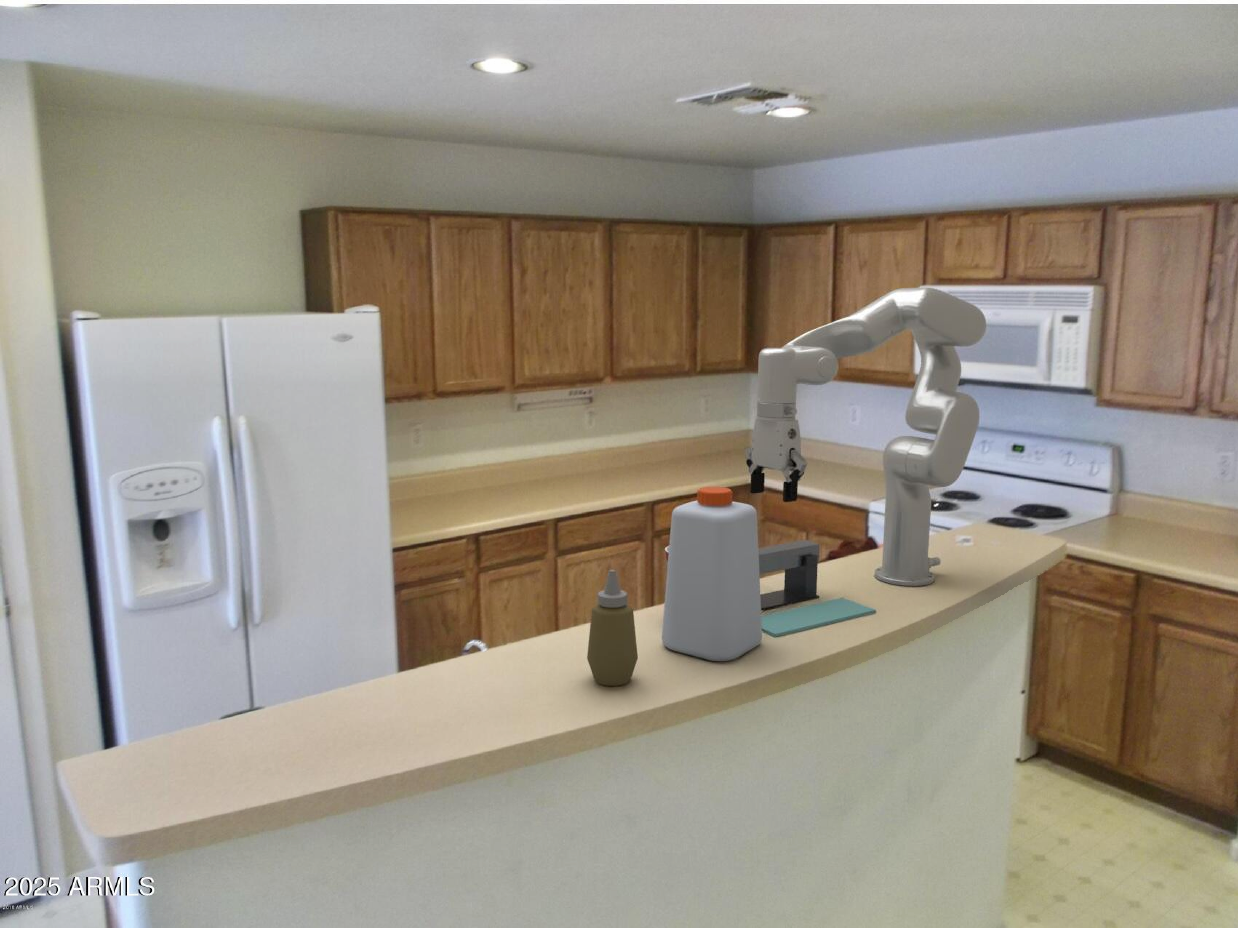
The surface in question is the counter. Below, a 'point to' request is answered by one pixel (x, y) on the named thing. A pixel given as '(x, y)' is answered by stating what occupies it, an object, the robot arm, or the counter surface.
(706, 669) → the counter surface
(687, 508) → the plastic bottle
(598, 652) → the squeeze bottle
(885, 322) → the robot arm
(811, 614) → the mat
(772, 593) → the brackets
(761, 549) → the rail
